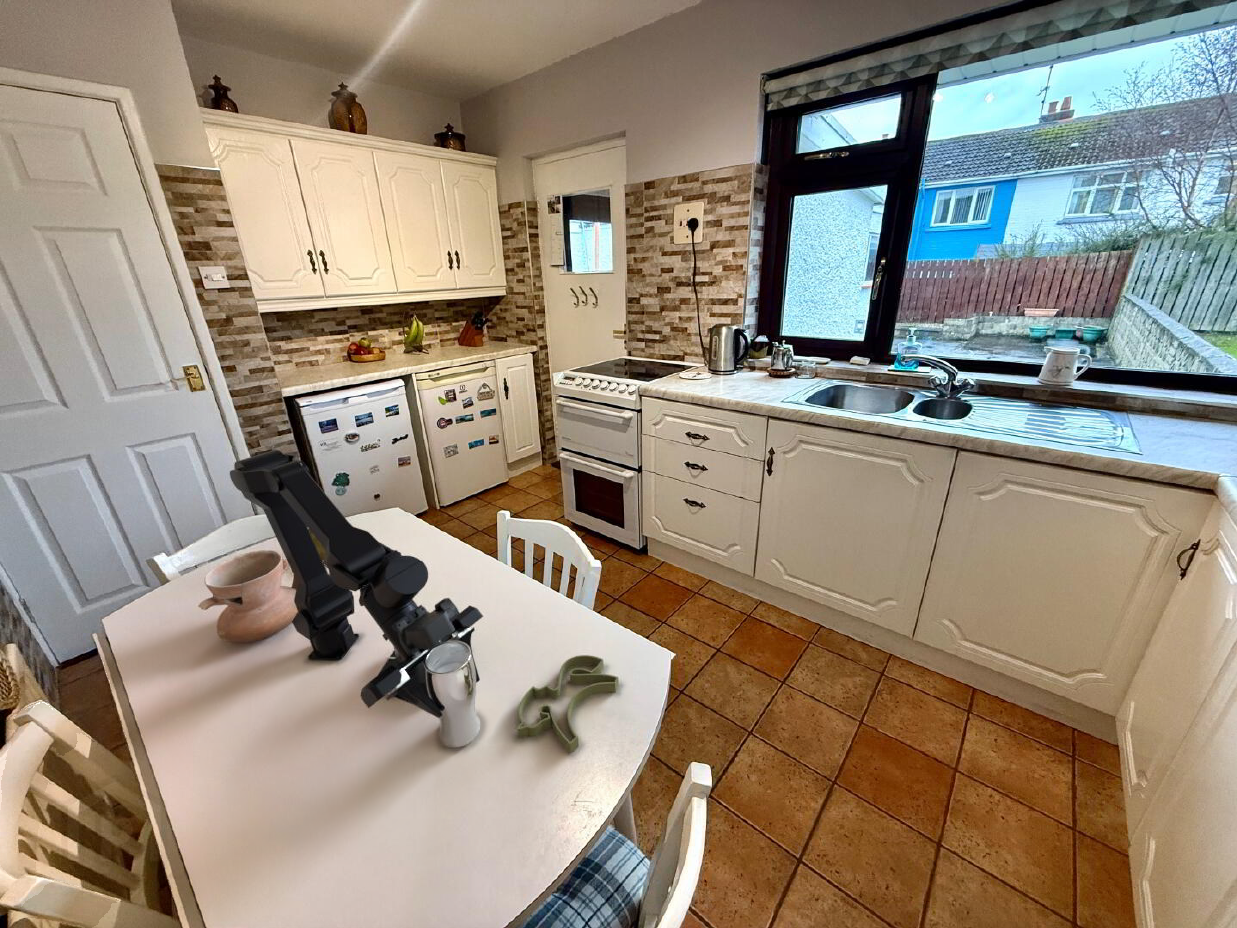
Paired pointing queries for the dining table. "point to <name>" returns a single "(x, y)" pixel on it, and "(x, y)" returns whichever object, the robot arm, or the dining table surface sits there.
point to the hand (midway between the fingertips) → (459, 698)
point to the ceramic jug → (251, 596)
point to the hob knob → (400, 655)
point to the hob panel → (416, 671)
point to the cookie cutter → (576, 677)
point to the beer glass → (453, 691)
